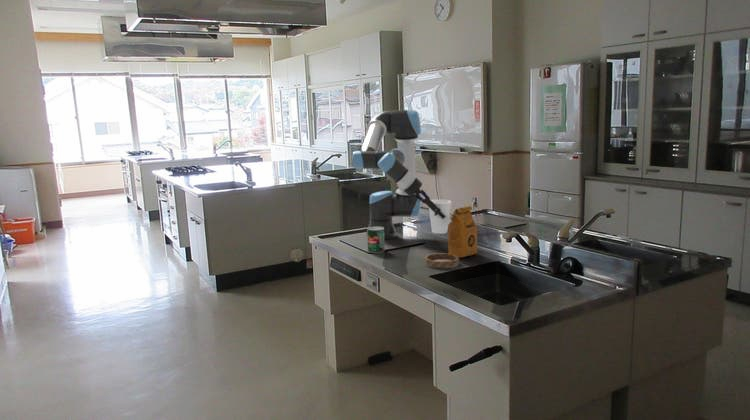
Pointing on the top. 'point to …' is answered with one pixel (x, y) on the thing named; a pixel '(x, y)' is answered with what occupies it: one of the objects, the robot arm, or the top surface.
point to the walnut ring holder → (441, 260)
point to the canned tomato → (376, 239)
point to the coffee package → (462, 233)
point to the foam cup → (436, 222)
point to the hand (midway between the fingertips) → (447, 220)
